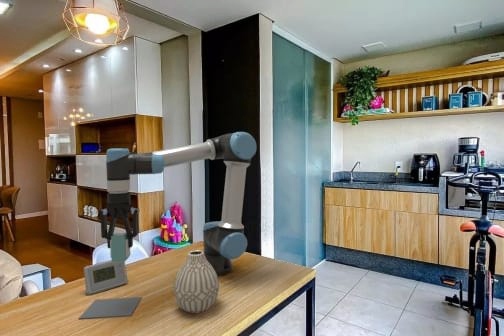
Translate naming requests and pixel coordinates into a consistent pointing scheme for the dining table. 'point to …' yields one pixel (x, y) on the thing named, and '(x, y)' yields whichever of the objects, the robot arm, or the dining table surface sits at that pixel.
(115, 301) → the mat
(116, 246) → the block
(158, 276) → the dining table surface
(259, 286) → the dining table surface
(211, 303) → the vase
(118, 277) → the digital clock
